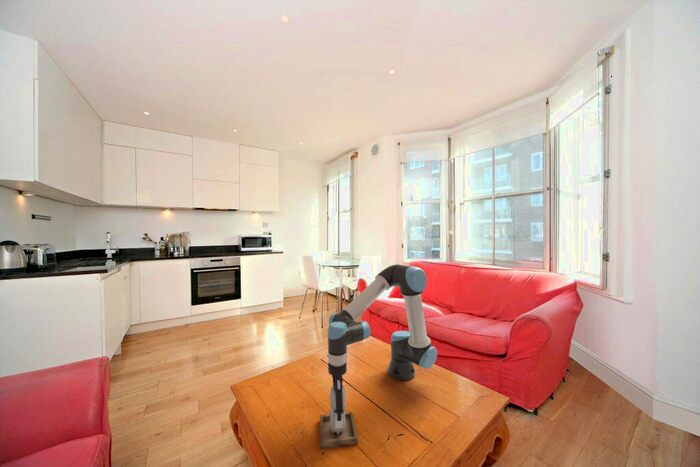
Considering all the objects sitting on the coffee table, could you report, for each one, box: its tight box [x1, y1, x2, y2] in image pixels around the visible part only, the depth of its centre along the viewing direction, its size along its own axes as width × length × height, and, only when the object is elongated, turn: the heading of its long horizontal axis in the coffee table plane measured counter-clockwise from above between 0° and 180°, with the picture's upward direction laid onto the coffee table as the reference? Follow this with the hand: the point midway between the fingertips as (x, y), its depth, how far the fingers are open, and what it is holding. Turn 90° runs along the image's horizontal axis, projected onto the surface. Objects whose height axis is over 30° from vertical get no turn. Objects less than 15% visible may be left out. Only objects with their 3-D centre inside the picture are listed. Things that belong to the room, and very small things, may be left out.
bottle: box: [329, 385, 347, 434], centre depth 100 cm, size 7×7×20 cm
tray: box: [319, 411, 358, 450], centre depth 100 cm, size 14×14×2 cm
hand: (337, 414), depth 100 cm, fingers open, 13 cm apart
